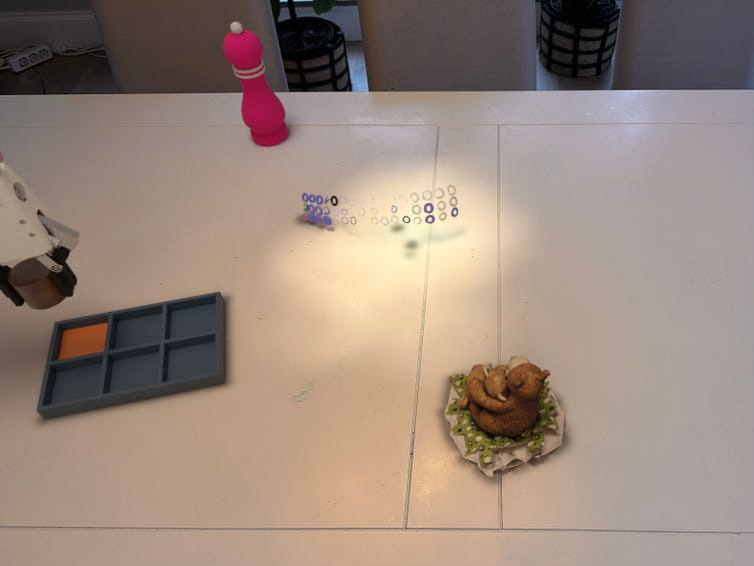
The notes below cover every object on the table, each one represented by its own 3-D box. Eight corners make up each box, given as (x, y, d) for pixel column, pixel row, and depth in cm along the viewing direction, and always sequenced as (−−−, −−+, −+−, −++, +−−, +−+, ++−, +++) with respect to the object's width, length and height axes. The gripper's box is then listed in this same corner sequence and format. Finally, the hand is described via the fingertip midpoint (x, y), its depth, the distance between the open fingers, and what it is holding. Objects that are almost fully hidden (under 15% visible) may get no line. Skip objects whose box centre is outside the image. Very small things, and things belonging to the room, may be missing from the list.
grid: (224, 383, 86) (219, 374, 84) (45, 419, 83) (36, 410, 82) (224, 301, 95) (219, 291, 93) (62, 331, 92) (54, 321, 91)
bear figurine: (529, 355, 87) (532, 290, 78) (580, 449, 78) (590, 389, 69) (429, 386, 85) (420, 323, 75) (470, 487, 76) (464, 430, 66)
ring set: (289, 258, 103) (267, 183, 96) (330, 228, 112) (311, 158, 105) (437, 265, 93) (422, 183, 87) (468, 232, 102) (457, 155, 96)
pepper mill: (291, 122, 121) (259, 8, 105) (291, 145, 117) (257, 30, 101) (250, 127, 121) (212, 14, 105) (249, 151, 116) (209, 36, 100)
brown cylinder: (23, 313, 80) (3, 290, 77) (30, 284, 83) (11, 260, 80) (66, 305, 81) (48, 281, 78) (72, 276, 84) (55, 253, 81)
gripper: (43, 133, 71) (122, 259, 85) (-131, 161, 69) (-20, 285, 83) (30, 176, 66) (116, 301, 81) (-156, 207, 64) (-34, 330, 79)
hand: (46, 292), depth 82 cm, fingers closed on brown cylinder, 5 cm apart
